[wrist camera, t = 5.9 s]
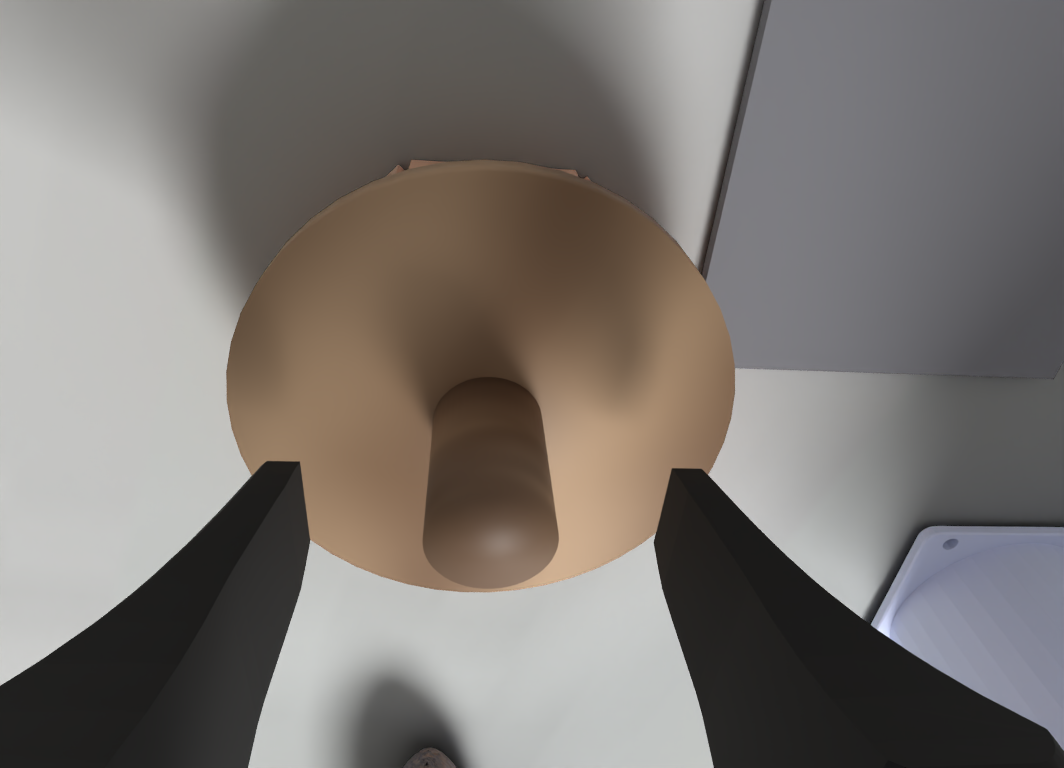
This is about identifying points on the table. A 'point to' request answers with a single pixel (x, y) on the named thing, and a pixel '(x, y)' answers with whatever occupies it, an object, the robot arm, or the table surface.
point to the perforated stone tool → (429, 759)
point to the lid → (481, 374)
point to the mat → (897, 190)
